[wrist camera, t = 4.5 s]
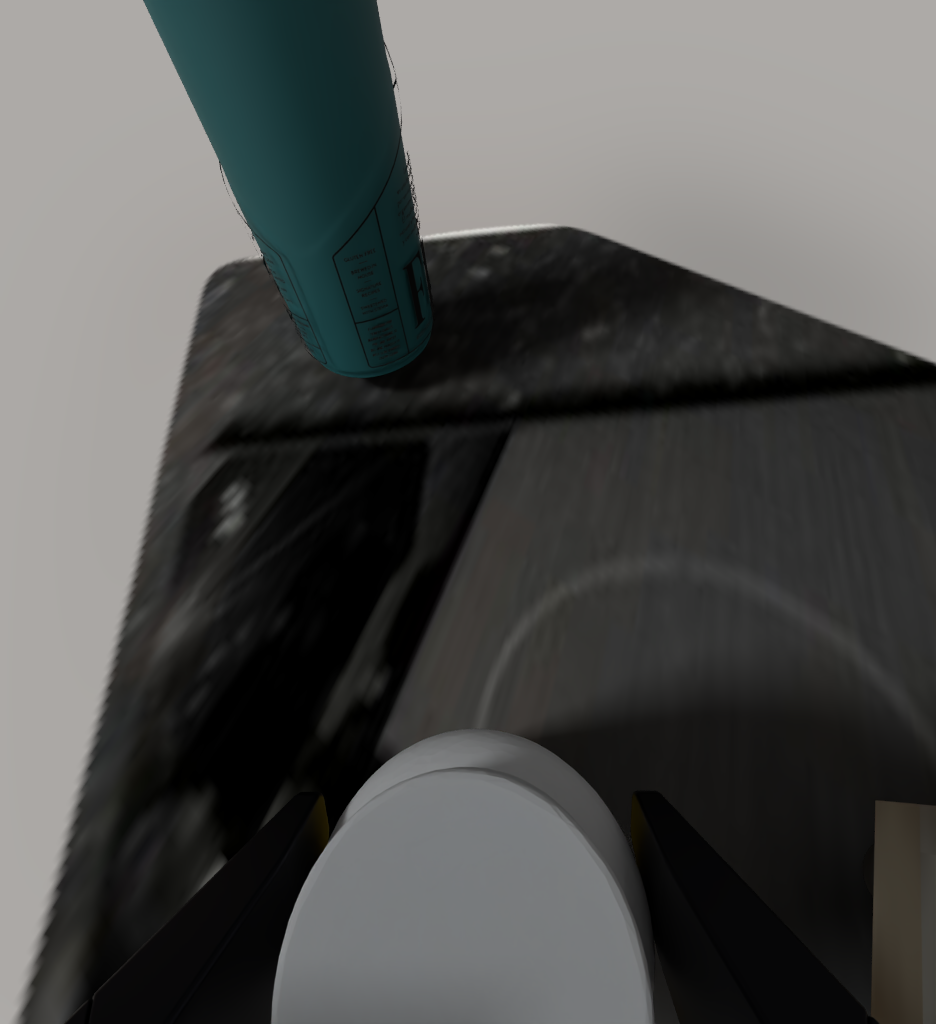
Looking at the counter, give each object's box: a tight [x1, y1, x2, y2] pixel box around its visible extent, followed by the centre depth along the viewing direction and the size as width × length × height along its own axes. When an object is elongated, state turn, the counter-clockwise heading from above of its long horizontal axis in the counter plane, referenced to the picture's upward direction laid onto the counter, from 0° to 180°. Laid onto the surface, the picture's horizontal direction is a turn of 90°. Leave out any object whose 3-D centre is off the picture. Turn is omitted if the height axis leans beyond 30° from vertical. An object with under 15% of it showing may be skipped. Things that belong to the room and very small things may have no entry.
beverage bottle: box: [143, 0, 435, 378], centre depth 16 cm, size 6×7×20 cm
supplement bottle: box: [271, 729, 655, 1024], centre depth 9 cm, size 5×5×10 cm
